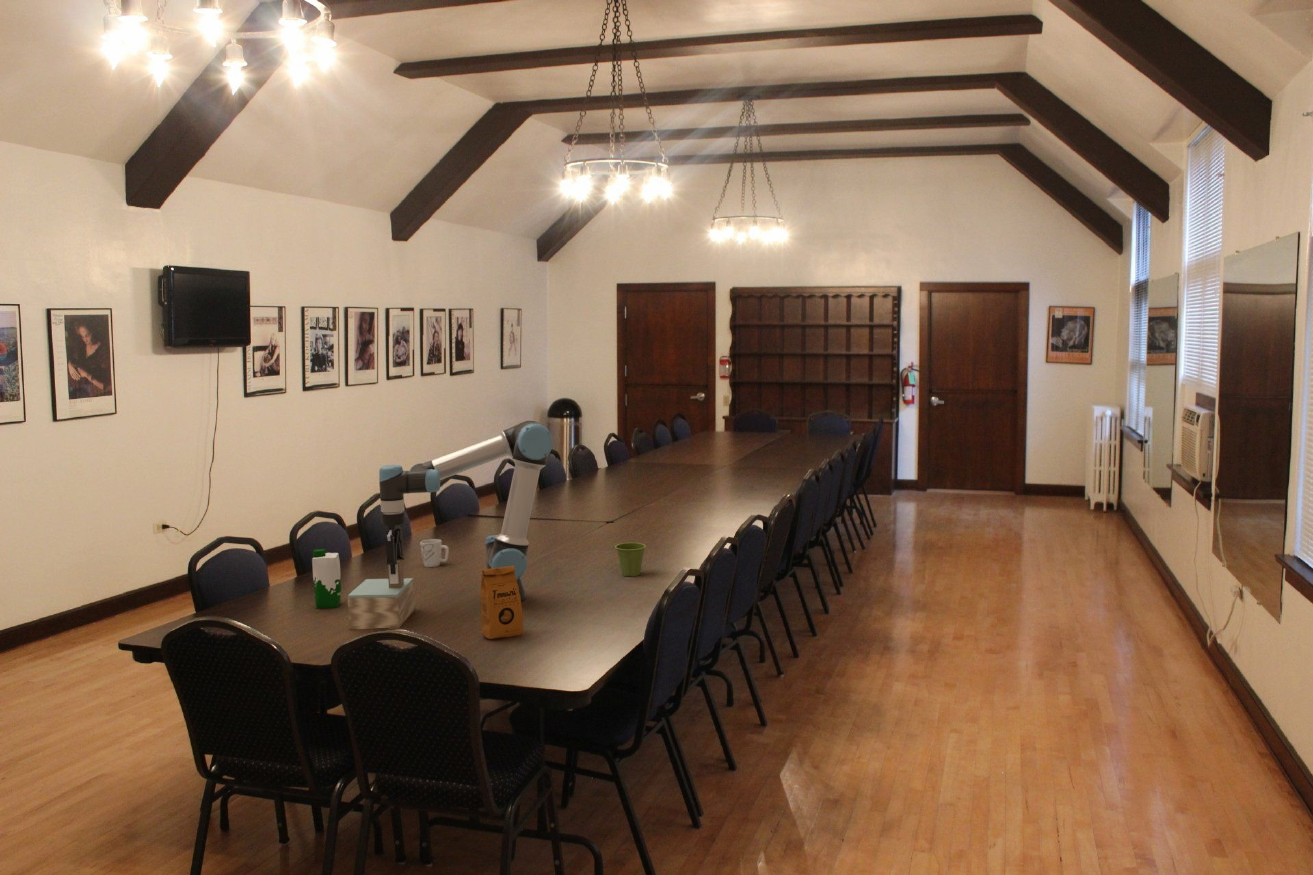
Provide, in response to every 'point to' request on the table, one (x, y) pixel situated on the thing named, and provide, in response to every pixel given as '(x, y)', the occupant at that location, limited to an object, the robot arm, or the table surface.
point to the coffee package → (500, 603)
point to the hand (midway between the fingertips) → (396, 581)
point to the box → (381, 611)
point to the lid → (382, 586)
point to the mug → (433, 552)
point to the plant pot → (630, 558)
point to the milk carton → (326, 579)
